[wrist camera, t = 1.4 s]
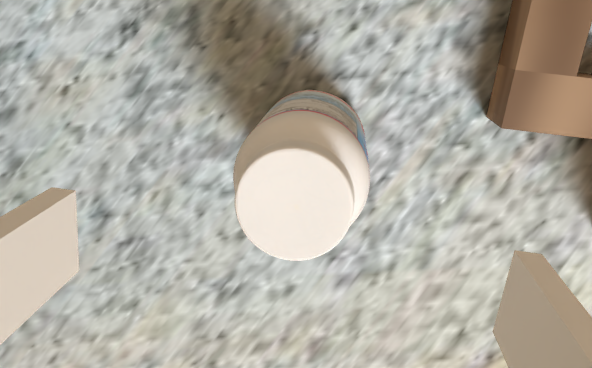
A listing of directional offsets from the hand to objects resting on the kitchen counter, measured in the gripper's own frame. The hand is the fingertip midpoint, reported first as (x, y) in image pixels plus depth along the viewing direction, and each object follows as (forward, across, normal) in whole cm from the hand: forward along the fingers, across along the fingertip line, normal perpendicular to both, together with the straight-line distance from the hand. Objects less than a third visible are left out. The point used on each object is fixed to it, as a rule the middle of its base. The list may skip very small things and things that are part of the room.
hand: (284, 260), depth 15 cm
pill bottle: (+16, 0, 0) cm, 16 cm away
